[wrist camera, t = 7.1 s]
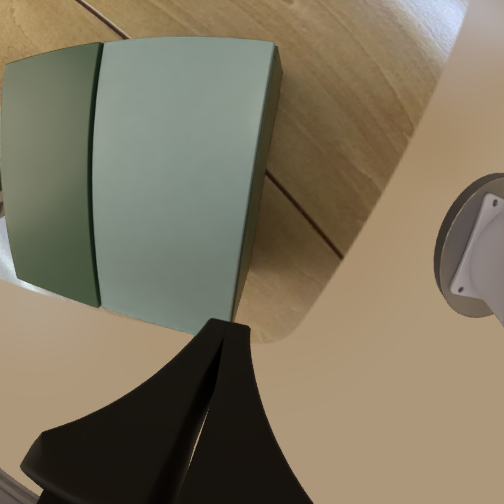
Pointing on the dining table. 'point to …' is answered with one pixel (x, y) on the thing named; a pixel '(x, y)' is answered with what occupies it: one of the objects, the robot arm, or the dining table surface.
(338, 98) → the dining table surface
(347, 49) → the dining table surface
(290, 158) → the dining table surface
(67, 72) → the seed box
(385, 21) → the dining table surface
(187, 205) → the hatch
